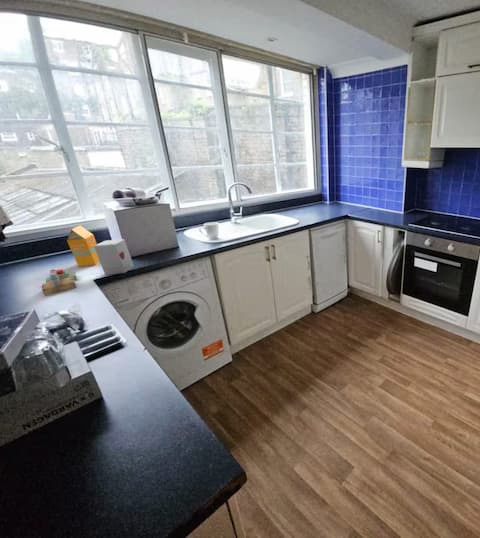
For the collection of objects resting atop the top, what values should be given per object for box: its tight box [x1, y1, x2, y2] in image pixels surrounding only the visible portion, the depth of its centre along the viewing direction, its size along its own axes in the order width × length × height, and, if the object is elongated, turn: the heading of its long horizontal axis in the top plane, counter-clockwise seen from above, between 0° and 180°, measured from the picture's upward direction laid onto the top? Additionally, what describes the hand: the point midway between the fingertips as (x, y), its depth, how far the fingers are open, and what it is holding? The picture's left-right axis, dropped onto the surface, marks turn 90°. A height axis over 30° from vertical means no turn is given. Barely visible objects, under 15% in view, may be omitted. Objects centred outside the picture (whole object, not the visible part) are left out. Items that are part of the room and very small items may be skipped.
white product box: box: [94, 238, 135, 276], centre depth 144 cm, size 9×9×15 cm
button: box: [55, 269, 65, 275], centre depth 135 cm, size 3×3×2 cm
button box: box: [45, 270, 78, 283], centre depth 136 cm, size 10×7×4 cm
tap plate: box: [40, 277, 77, 296], centre depth 129 cm, size 11×11×3 cm
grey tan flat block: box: [49, 268, 60, 286], centre depth 127 cm, size 7×2×5 cm, turn 45°
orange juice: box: [66, 224, 100, 268], centre depth 154 cm, size 8×9×20 cm
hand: (1, 241), depth 118 cm, fingers closed
